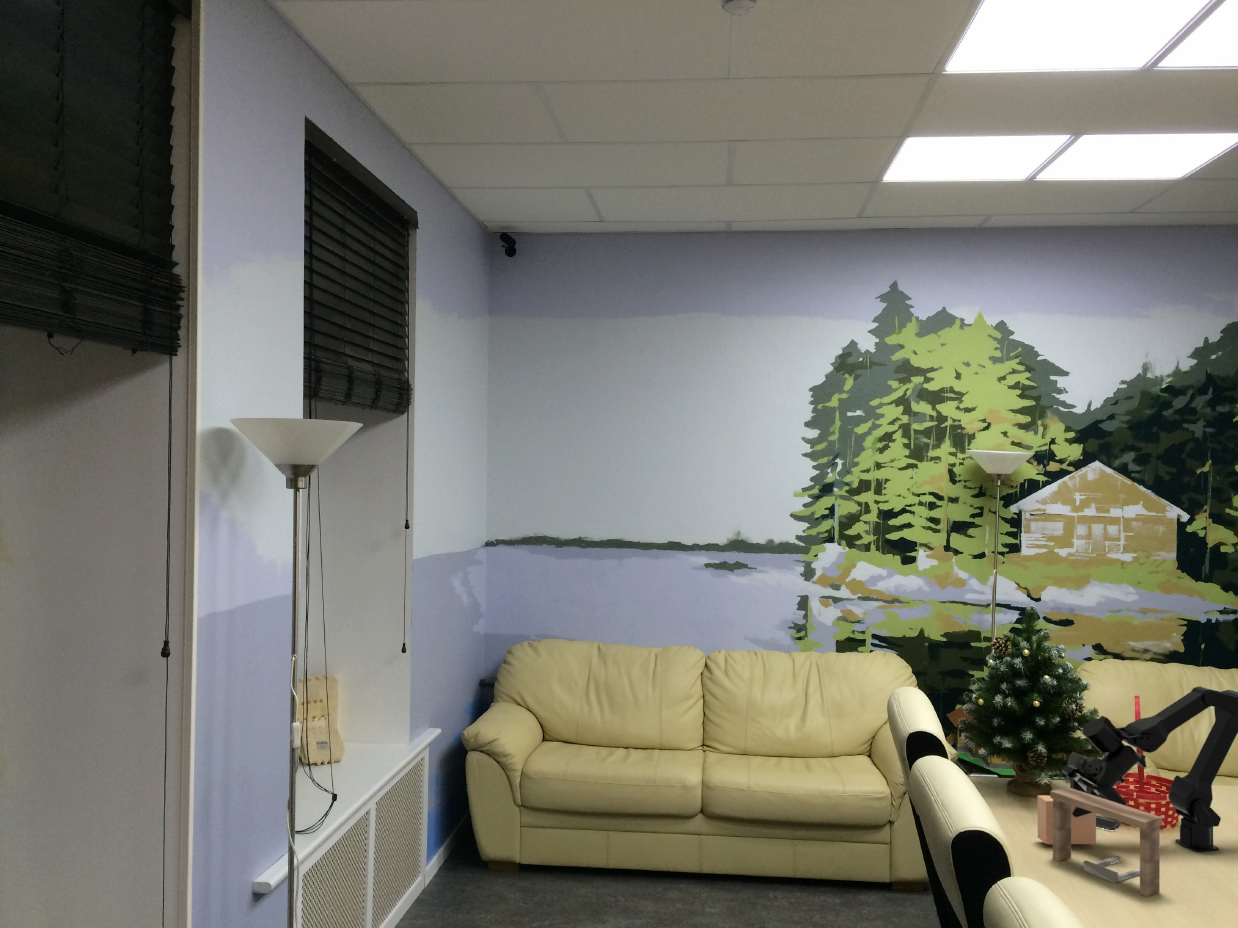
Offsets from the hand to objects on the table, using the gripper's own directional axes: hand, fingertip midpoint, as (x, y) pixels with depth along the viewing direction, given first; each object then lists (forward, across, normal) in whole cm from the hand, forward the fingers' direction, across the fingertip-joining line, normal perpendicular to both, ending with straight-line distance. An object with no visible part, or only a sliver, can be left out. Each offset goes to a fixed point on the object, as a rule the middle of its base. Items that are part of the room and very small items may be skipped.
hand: (1068, 812), depth 212 cm
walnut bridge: (+4, +15, +7) cm, 17 cm away
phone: (-4, -17, +16) cm, 23 cm away
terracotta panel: (+5, 0, +4) cm, 7 cm away
